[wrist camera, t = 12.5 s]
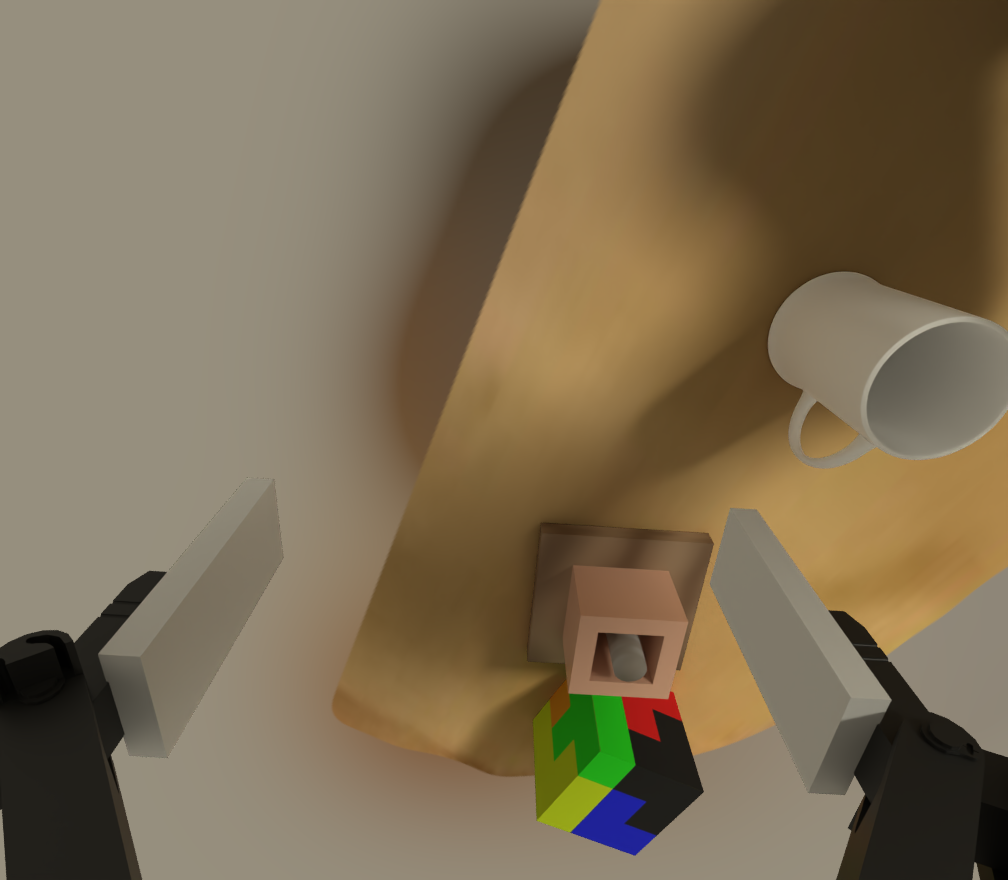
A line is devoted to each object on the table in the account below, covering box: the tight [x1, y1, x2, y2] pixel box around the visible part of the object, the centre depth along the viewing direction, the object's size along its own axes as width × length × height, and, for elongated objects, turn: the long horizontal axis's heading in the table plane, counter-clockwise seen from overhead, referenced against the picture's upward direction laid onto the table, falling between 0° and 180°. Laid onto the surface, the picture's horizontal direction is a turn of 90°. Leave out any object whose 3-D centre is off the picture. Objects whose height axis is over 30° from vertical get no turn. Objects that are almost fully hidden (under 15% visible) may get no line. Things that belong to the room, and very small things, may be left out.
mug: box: [768, 272, 1008, 469], centre depth 37 cm, size 12×8×12 cm
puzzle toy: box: [533, 679, 704, 855], centre depth 53 cm, size 10×10×10 cm
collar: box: [562, 565, 688, 699], centre depth 48 cm, size 8×8×6 cm
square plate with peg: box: [527, 523, 714, 682], centre depth 48 cm, size 14×14×8 cm
